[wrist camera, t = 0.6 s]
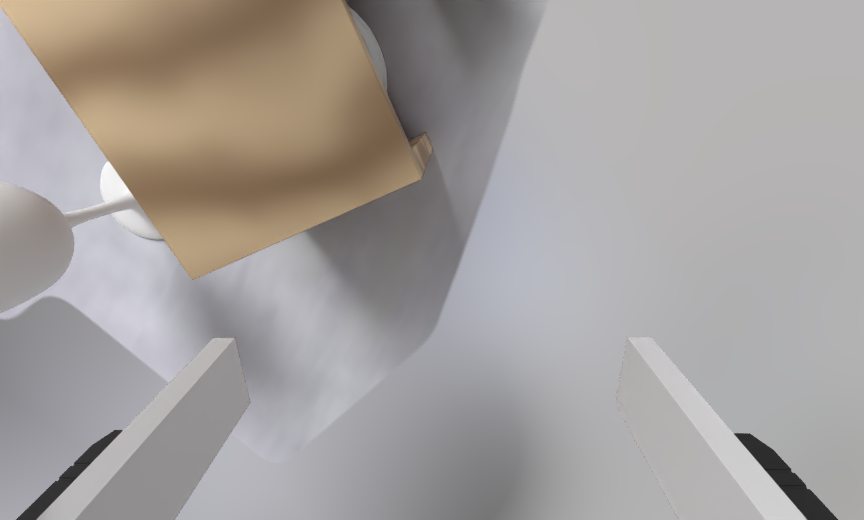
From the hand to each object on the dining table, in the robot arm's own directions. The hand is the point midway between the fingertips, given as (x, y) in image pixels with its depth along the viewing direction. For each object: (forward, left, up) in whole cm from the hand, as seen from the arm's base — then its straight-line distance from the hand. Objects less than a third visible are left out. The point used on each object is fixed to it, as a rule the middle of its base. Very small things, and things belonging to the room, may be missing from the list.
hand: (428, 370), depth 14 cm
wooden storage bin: (-16, -6, -26) cm, 31 cm away
